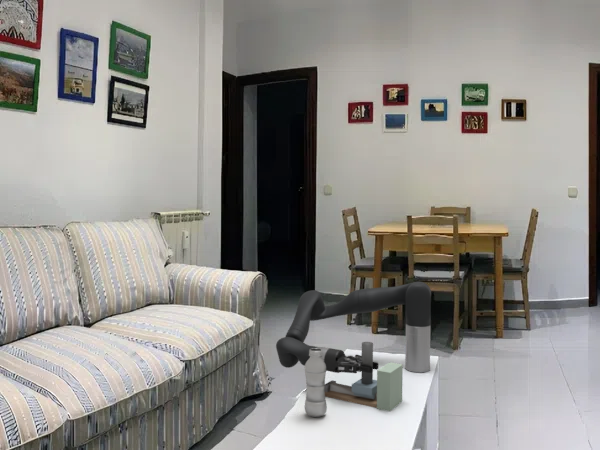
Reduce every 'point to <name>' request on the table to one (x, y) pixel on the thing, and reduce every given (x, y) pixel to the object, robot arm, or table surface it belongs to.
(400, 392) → the gauge cabinet
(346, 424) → the table surface
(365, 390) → the cylinder
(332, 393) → the rail
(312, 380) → the plastic bottle
